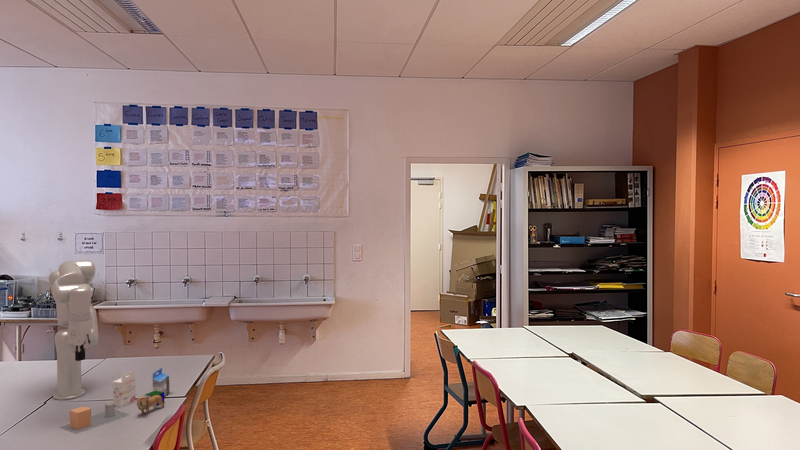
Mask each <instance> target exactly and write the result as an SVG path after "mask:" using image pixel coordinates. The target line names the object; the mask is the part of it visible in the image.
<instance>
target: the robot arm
mask: <svg viewBox="0 0 800 450" xmlns="http://www.w3.org/2000/svg"><path fill="white" fill-rule="evenodd" d="M95 275H96V266H95V263H94V262H93V261H91V260H88V259H85V260H84V259H83V260H79V259H78V260H67V261H64V262H62V263H61V264H60V265H59V266H58V269H57V270H54V271H51V272H50V274H49V275H48V285H49V288H50V290H51V293H52V298H53V300H54V301H55V305H56V307H55V308H56V320H57V324H58V325H59V326H60V327H64V329H61V330H59V331H57V332H56V333H55V336H54V344H55V349H56V350H55V351H56V371H57V372H56V377H57V378H56V382H57V386H55V389H56V391H57V392H56V393H54V394H53V399H54V400H57V401H58V400H59V401H62V400H63V401H64V400H72V399H76V398H79V397H81V396H84V395H85V394H86V390H85V389H83V388H82V361H84V360H86V350H87V349H88V348H89V347H93V346H95V345H97V344H98V342H99V328H98V327H99V326H98V319H97V311H96V308H95V307H94V305H92V303H91V302H92V297H93V295H94V289H93V287H92V285H91V284H92V282H93V279H95V278H94V277H95ZM65 327H66V328H65ZM89 349H90V348H89Z"/></svg>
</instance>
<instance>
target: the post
mask: <svg viewBox="0 0 800 450" xmlns="http://www.w3.org/2000/svg"><path fill="white" fill-rule="evenodd" d="M115 410H116V406H115V403H113V401H111V402H108V403H105V404H104V412H105V416H106V417H111V416H114V415H115Z"/></svg>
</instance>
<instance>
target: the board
mask: <svg viewBox="0 0 800 450" xmlns="http://www.w3.org/2000/svg"><path fill="white" fill-rule="evenodd" d="M130 415H131V414H130V413H127V412H123V411H120V410H117V409H115V415H114V416H111V417H106V416H105V411H103V412H101V413H97V414H95V415H91V425H89V426H86V427H84V428H81V429H78V430H77V429H74V428H72V427H70V423H68V424H66V425H65V424H64V425H62V426H59V427H58V428H60V429H62V430H65V431H68V432H70V433H73V434H79V433H83V432H85V431H88V430H91V429H94V428H97V427H99V426H103V425H104V424H107V423H110V422H113V421H116V420H118V419H119V420H120V419H122V418H125V417H126V416H130Z"/></svg>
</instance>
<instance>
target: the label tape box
mask: <svg viewBox="0 0 800 450" xmlns="http://www.w3.org/2000/svg"><path fill="white" fill-rule="evenodd" d="M162 371H163V367H160V368H159V369H158V370H156V371H154V372H153V373H152V392H153V391H155V390H156V391H161V392H164V397H165V396H167V395H168V394H170V392H171V391H170V375H168V374H166V373H164V372H162Z"/></svg>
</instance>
